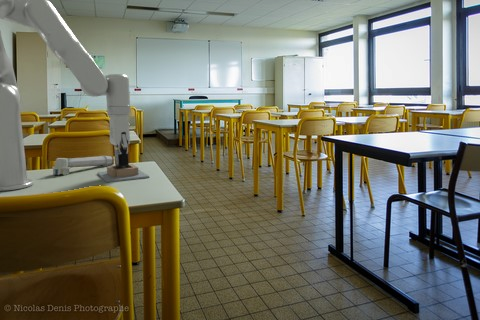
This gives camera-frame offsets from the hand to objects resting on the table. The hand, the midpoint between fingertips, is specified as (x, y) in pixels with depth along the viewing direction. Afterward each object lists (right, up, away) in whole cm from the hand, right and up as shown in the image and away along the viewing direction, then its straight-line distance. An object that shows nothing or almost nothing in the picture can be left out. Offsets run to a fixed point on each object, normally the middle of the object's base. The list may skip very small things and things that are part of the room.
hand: (121, 163), depth 137 cm
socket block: (0, -4, +1) cm, 4 cm away
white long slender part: (-18, -3, +12) cm, 22 cm away
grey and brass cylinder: (0, -3, +1) cm, 3 cm away
